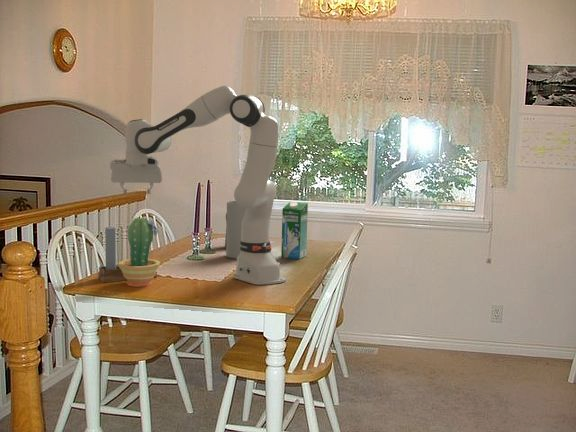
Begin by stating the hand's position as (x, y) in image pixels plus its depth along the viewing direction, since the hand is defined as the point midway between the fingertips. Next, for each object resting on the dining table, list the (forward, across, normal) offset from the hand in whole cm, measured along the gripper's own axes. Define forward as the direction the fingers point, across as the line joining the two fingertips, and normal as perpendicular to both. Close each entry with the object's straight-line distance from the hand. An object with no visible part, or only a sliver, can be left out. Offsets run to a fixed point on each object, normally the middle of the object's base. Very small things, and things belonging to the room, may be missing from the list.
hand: (137, 193), depth 270 cm
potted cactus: (+31, +2, -27) cm, 41 cm away
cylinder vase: (+31, +45, +23) cm, 59 cm away
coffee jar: (+31, +45, +46) cm, 72 cm away
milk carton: (+31, +70, +21) cm, 79 cm away
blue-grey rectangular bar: (+29, -9, -19) cm, 36 cm away
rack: (+31, -3, -17) cm, 35 cm away
